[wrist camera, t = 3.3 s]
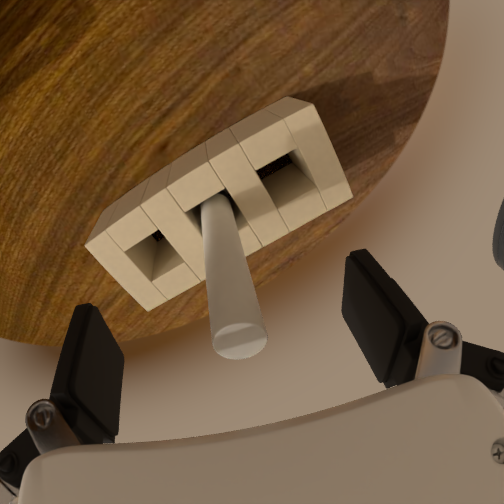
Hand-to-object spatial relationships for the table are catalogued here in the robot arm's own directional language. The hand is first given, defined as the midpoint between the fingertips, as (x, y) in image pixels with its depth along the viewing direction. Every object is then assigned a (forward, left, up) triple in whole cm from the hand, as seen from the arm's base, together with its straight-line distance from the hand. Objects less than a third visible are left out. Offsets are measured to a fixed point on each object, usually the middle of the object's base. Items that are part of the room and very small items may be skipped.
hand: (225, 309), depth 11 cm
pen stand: (0, 0, -12) cm, 12 cm away
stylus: (0, 0, -12) cm, 12 cm away
